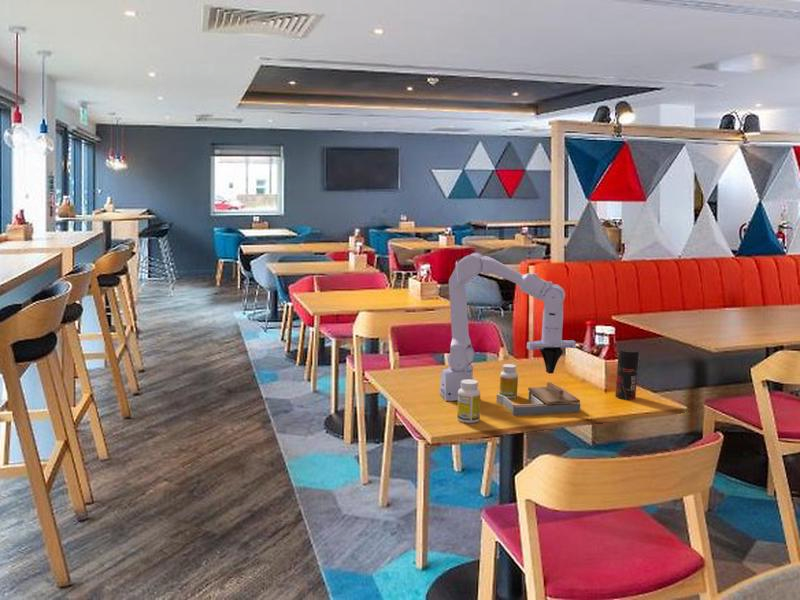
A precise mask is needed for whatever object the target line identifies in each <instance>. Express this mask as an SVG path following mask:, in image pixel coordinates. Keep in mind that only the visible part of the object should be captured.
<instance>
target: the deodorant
mask: <svg viewBox="0 0 800 600" xmlns="http://www.w3.org/2000/svg"><path fill="white" fill-rule="evenodd" d="M639 354H640V351H639V349H637V348H632V347H619V348H618V354H617V356H618V357H617V365H616V366H617V370H616V382H615V383H616V384H615V395H614V397H615V398H616V399H619V400H624V401H633V400H635V399H636V393H637V382H638V381H637V380H638V370H639V369H638V367H639Z"/></svg>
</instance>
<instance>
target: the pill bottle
mask: <svg viewBox="0 0 800 600" xmlns="http://www.w3.org/2000/svg"><path fill="white" fill-rule="evenodd" d="M461 387H462V388H460V389H459V391H458V400H457V420H458V421H459V422H460V423H464V422H465V424H474V423H477V422H479V421H480V419H481V390H479V388H478V387H479V381H478V380H476V379H473V380H472V379H465V380H462V381H461Z"/></svg>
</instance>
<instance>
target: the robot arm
mask: <svg viewBox="0 0 800 600" xmlns="http://www.w3.org/2000/svg"><path fill="white" fill-rule="evenodd" d="M479 274H481V275H489V274H493V275H496V276H498V277H500V278H503V279H504V280H508V282H509V281H510V282H512V283H514V284H517V285H518V288H519V290H520V291H521V292H522V293H525V294H527V295H528V296H530V297H533V298H535V299H536V300H539V301H542V302H543V303H544V304H543V311H542V327H541V328H542V329H541V340H535V341H527V342H526V349H527V350H528V351H532V350H539V352H540V354H541V356H542V359H543V361H544V366H545V371H546V373H547V374H554V373H555V368H556V366H557V364H558V361H559V359H560V358H561V356H562V355H563V353H564V352H563V351H564V350H563V349H569V348H570V349H576V341H575V340H574V339H571V340H570V339H569V340H567V339H563V328H564V326H563V324H564V300H565V298H566V293H565V290H564V287H562V286H560V285H559V284H557V283H555V284H554V283H553V282H552V281H550V280H549V281H547V280H545V279H543V278H541V277H538V273H535V272H533V273H530V272H529V273H525V274H523V273H521V272H519V271H517V270H515V269H514V268H511V267H510V266H508V265H506V264H504V263H502V262H500V261H499V260H497V259H495V258H492V257H491V256H488V255H484V254H482V253H480V252H472V253H471V254H468V255H465V256H464V257H463V258H461V259H460V260H458V262H457V263H456V265H455V268H454V270H453V271H452V273H451V275H450V277H449V279H448V291H449V293H448V294H449V308H450V309H449V310H450V322H451V323H450V325H451V327H450V328H451V342H450V350H449V351H450V352H449V355H448V357H447V362H448V368H445V369H441V372H440V391H439V394H440V395H441V397H442V398H443V399H444V400H445V401H446V402H451V401H458V391H459V389H460V388H462V387H461V381H462V380H465V379H472V380H474V379H473V378H474V376H473V375H474V366H473V364H472V362H473V361H474V359H475V355H476V353H475V350H474V348H473V346H472V340H471V339H470V335H469V319H468V317H469V316H468V301H467V288H466V287H467V284H468V283H470V282H471V280H472V279H473V278H474V277H476V276H477V275H479Z"/></svg>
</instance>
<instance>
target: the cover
mask: <svg viewBox="0 0 800 600" xmlns="http://www.w3.org/2000/svg"><path fill="white" fill-rule="evenodd" d="M527 390H528V392H529V391H530V392H531V393H533V394H534V395H535V396H537V397H538V398H539V399H541V400H540V401H541V402H542V403H544V404H545V405H554V404H574V403H580V404H581V400H580V399H579V398H578V397H576V396H575V395H573V394H572V393H571V392H568V391H567V390H566V389H564V388H562V387H561V386H559V385H558V386H557V385H556V384H555V383H553V382H546V386H536V387H535V386H534V387H532V386H531V387H528V389H527Z"/></svg>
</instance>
